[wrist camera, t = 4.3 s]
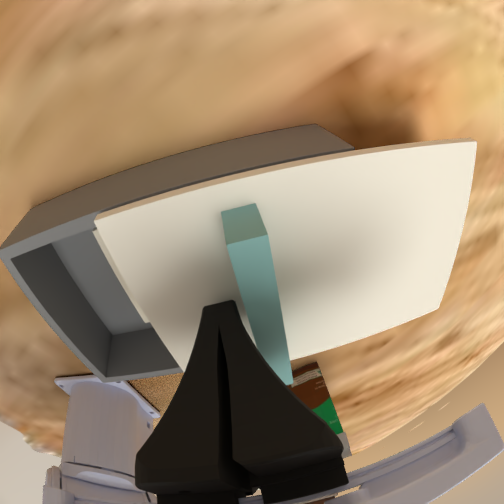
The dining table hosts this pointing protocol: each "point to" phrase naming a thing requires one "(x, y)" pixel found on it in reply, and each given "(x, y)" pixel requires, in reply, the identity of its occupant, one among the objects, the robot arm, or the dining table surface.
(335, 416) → the food container
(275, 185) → the lid
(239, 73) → the dining table surface
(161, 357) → the grey sliding-lid box
